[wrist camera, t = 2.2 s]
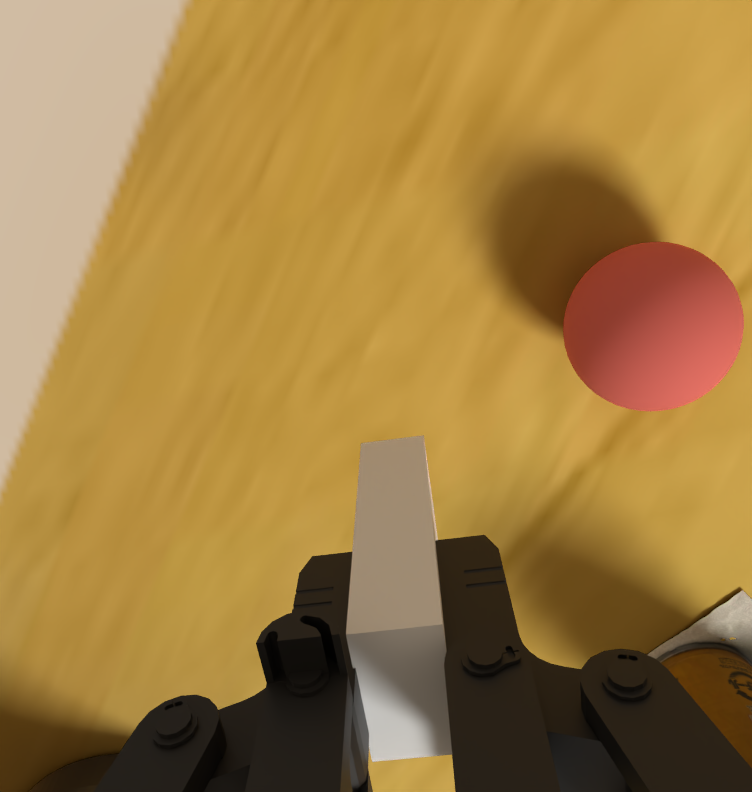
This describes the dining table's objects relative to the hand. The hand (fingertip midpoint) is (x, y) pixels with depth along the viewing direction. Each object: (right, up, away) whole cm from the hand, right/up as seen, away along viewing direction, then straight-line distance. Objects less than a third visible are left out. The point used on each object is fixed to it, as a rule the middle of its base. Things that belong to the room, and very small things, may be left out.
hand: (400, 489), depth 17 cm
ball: (+9, +5, +8) cm, 13 cm away
